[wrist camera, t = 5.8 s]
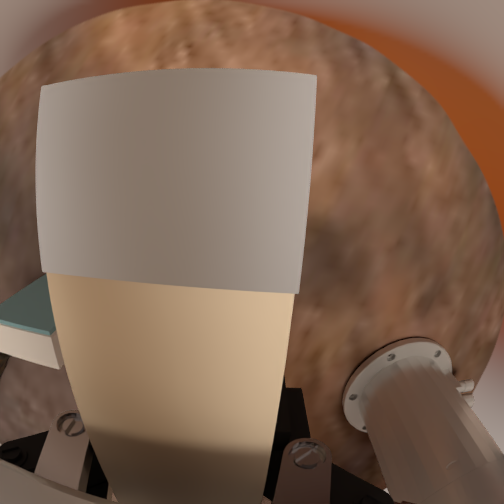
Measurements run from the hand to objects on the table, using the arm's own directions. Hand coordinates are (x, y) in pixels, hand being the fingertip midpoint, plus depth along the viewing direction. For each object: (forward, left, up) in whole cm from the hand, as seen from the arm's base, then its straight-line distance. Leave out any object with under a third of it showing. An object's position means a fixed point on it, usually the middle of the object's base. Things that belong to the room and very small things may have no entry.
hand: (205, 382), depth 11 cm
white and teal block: (+14, +4, -15) cm, 21 cm away
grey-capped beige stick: (0, 0, -1) cm, 1 cm away
